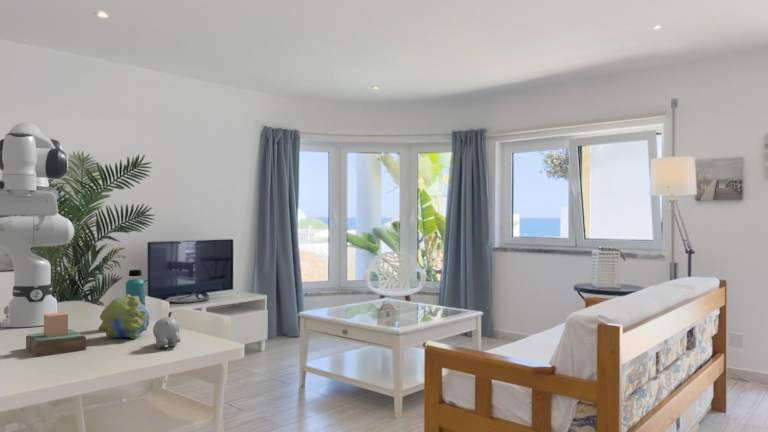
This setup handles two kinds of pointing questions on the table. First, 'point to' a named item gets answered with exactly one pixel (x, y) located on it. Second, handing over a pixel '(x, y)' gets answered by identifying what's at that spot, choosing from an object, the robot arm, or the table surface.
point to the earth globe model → (124, 318)
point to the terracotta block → (55, 324)
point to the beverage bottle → (136, 286)
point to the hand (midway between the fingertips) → (19, 230)
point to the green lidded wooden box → (55, 343)
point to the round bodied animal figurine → (166, 332)
